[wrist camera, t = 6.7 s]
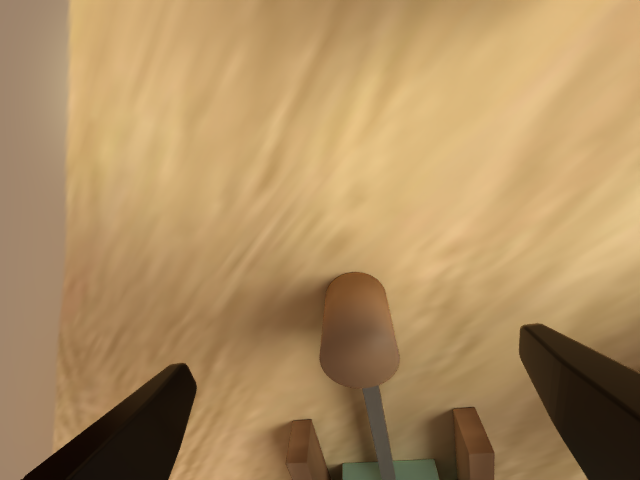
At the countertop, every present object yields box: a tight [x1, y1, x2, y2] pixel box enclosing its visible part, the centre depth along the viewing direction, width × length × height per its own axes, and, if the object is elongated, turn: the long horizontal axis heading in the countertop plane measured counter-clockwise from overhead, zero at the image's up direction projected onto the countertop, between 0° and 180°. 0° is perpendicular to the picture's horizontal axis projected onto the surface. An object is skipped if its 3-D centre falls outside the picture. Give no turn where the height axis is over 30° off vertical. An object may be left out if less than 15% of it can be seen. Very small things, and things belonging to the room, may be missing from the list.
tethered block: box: [320, 272, 439, 480], centre depth 16 cm, size 6×20×6 cm, turn 12°
